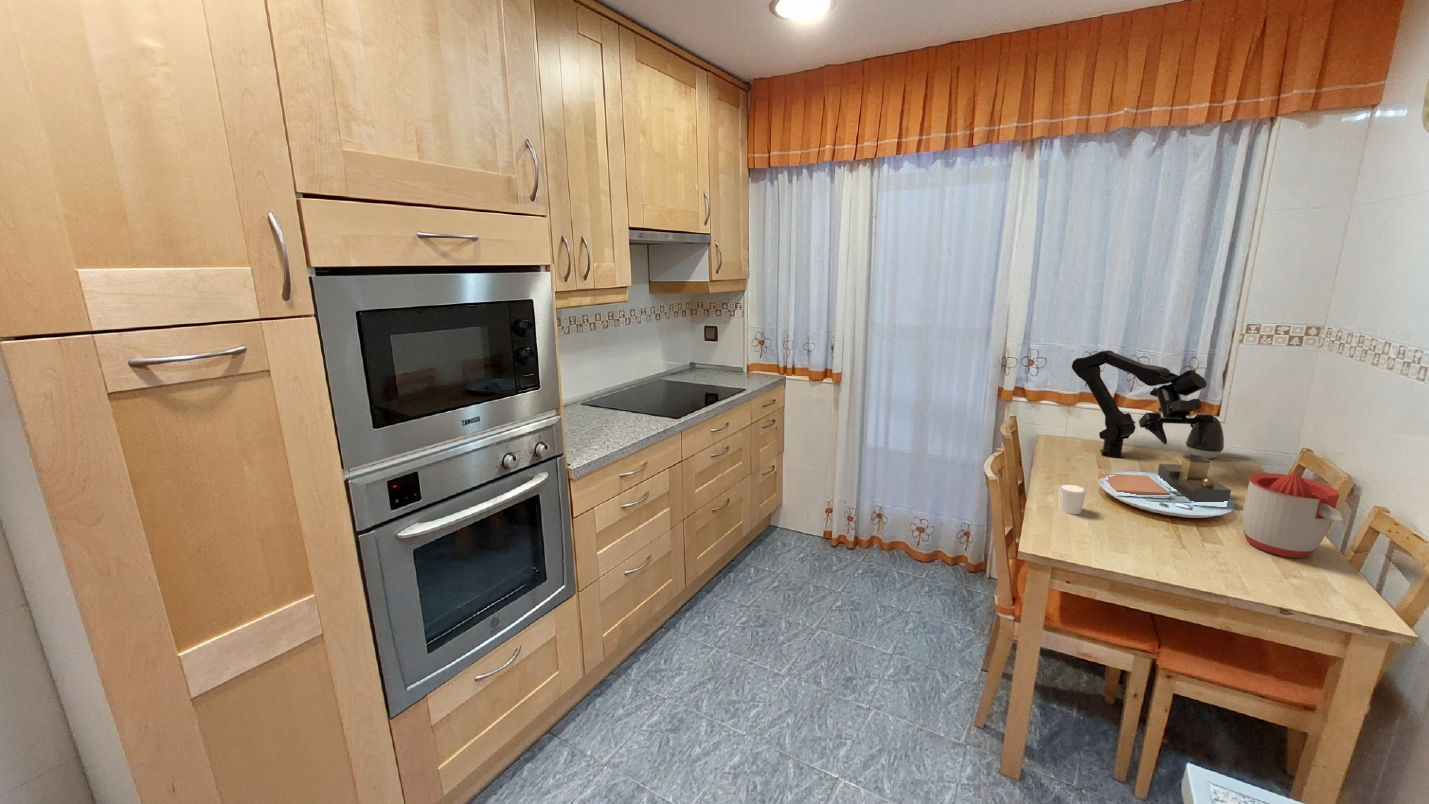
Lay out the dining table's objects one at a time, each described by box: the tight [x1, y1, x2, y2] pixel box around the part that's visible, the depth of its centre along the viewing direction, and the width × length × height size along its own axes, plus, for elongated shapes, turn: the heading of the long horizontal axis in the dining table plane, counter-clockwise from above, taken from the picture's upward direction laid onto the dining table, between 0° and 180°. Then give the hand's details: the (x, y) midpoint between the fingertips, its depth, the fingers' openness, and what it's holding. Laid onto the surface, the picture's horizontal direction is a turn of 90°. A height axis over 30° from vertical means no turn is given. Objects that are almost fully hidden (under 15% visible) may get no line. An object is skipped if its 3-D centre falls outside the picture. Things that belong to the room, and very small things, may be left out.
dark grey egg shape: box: [1185, 415, 1225, 460], centre depth 201 cm, size 10×10×15 cm
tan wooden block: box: [1179, 454, 1211, 481], centre depth 172 cm, size 4×5×8 cm
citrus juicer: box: [1242, 472, 1343, 559], centre depth 139 cm, size 16×17×20 cm
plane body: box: [1157, 463, 1232, 503], centre depth 173 cm, size 20×9×8 cm, turn 166°
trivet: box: [1097, 472, 1171, 495], centre depth 178 cm, size 14×14×2 cm
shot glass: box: [1058, 483, 1087, 515], centre depth 165 cm, size 7×7×7 cm
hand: (1182, 444), depth 178 cm, fingers open, 9 cm apart
